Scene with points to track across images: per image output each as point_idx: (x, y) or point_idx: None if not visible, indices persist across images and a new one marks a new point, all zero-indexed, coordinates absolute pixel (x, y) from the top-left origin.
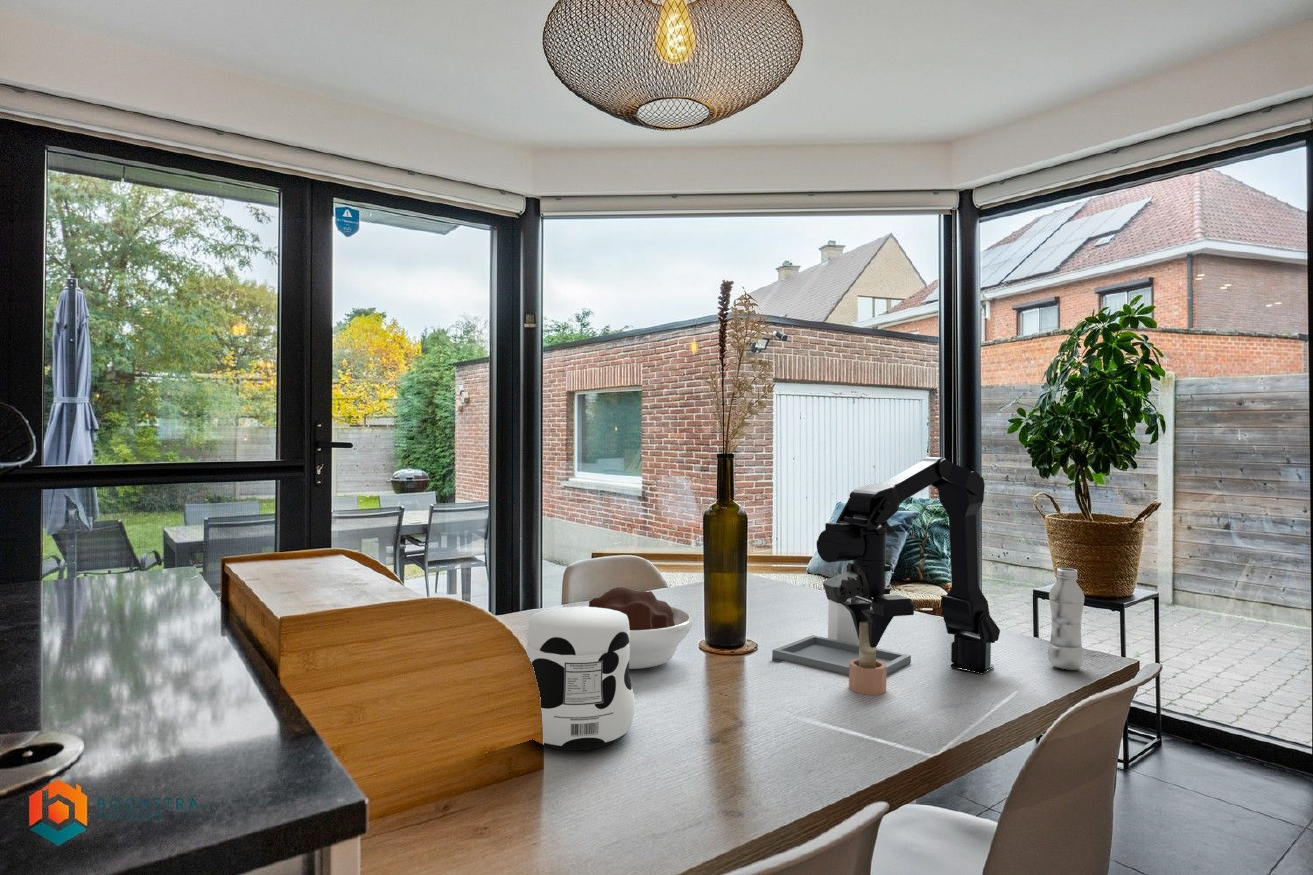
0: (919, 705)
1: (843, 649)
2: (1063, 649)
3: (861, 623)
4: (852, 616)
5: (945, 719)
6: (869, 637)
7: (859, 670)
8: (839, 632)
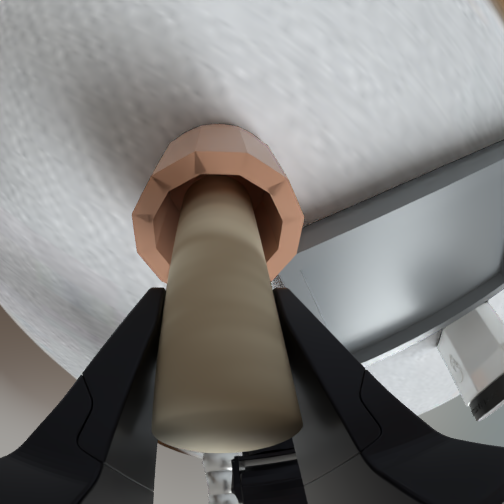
0: (80, 251)
1: (455, 301)
2: (211, 469)
3: (223, 410)
4: (398, 414)
5: (7, 248)
6: (141, 328)
7: (174, 158)
8: (481, 324)
